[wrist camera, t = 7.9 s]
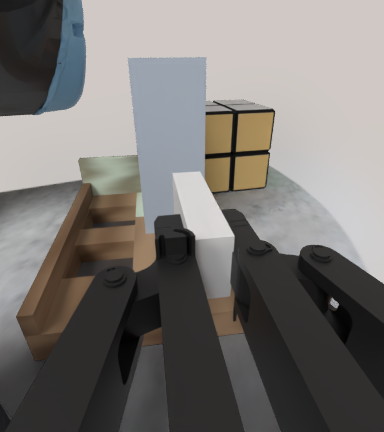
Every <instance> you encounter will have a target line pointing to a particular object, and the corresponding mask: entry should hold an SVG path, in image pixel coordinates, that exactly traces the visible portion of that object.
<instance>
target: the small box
mask: <svg viewBox="0 0 384 432" xmlns="http://www.w3.org/2000/svg"><path fill="white" fill-rule="evenodd" d="M10 422H11V418H10V416H9V415H8V413H7V411H6V410H5V409H4V407H3V405H2V403H1V402H0V432H5V430H6V429H7V427H8V425H9V424H10Z"/></svg>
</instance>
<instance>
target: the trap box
mask: <svg viewBox="0 0 384 432" xmlns="http://www.w3.org/2000/svg"><path fill="white" fill-rule="evenodd" d="M78 162H79V166H80V171H81V176H82V181H83V184H82V186H81V188H80V190H79V192H78V194H77V196H76V198H75V200H74V202H73V204H72V206H71V208H70V210H69V212H68V214H67V216H66V218H65V220H64V222H63V224H62V226H61V228H60V230H59V232H58V234H57V236H56V238H55V240H54V242H53V244H52V246H51V248H50V250H49V252H48V254H47V256H46V258H45V260H44V262H43V264H42V266H41V268H40V270H39V272H38V274H37V276H36V278H35V280H34V282H33V284H32V286H31V288H30V290H29V292H28V294H27V296H26V298H25V300H24V302H23V304H22V306H21V308H20V310H19V312H18V314H17V316H16V318H17V320H18V323H19V325H20V327H21V330H22V332H23V334H24V336H25V339H26V341H27V343H28V346H29V348H30V350H31V353H32V355H33V357H34V360H35V361H37V360H44V359H47V358H48V356H49V354H50V353H51V351H52V349H53V348H54V346H55V344H56V342H57V341H58V339H59V337H60V335H61V334H62V332H63V330H64V329H65V327H66V325H67V323H68V322H69V320H70V318H71V317H72V315H73V313H74V311H75V310H76V308H77V306H78V304H79V303H80V301H81V299H82V298H83V296H84V294H85V292H86V291H87V289H88V287H89V285H90V284H91V282H92V280H93V279H94V277H95V276H96V275H97V274H98V273H99V272H101V271H102V270H104V269H106V268H109V267H112V266H126V267H129V268H131V269H133V270H134V272H138V271H141V270H143V269H145V268H147V267H149V266H150V265H151V264H152V263H153V262H154V261H155V259H156V249H155V233H151V234H146V231H145V221H144V211H143V201H142V192H141V182H140V172H139V162H138V155H132V156H112V157H93V158H80V159H79V160H78ZM205 181H206V180H205ZM206 183H207V182H206ZM207 185H208V184H207ZM208 187H209V186H208ZM209 189H210V188H209ZM210 191H211V190H210ZM211 193H212V192H211ZM212 195H213V194H212ZM213 196H214V195H213ZM214 198H215V197H214ZM215 200H216V199H215ZM216 202H217V201H216ZM217 204H218V203H217ZM218 206H219V205H218ZM219 208H220V207H219ZM220 210H221V209H220ZM208 303H209V306H210V310H211V314H212V317H213V321H214V324H215V328H216V331H217V335H218V336H223V335H231V334H238V333H244V331H243V328H242V326H241V323H240V320H239V318H238V315H237V317H236V321H234V322H233V307H234V291H233V289H232V286H231V293H230V296H229V297H221V298H213V299H208ZM156 344H163V338H162V327H160V328H158V329H155V330H153V331H151V332H149V333H146V334H144V339H143V343H142V346H149V345H156Z"/></svg>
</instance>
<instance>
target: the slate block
mask: <svg viewBox="0 0 384 432" xmlns="http://www.w3.org/2000/svg"><path fill="white" fill-rule="evenodd" d="M128 64H129V74H130V83H131V94H132V104H133V113H134V123H135V132H136V143H137V152H138V162H139V172H140V182H141V192H142V201H143V211H144V221H145V231H146V234H151V233H155V231H154V221H155V220H156V218H157V217H158V216H162V215H174V198H173V176H172V173H182V172H198V171H200V172H201V174H202V176H203V178H204V180H205V111H206V57H202V58H200V57H198V58H128Z"/></svg>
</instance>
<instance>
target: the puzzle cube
mask: <svg viewBox="0 0 384 432" xmlns="http://www.w3.org/2000/svg"><path fill="white" fill-rule="evenodd" d="M274 117H275V111H274V110H273V109H272V108H269V107H265V106H262V105H259V104H255V103H252V102H249V101H246V100H220V101H219V100H218V101H213V102H211V101H206V111H205V180H206V182H207V184H208V186H209V188H210V190H211V192H212V193H220V192H228V191H229V190H231V191H240V190H249V189H259V188H264V187H265V186H266V182H267V174H268V166H269V157H270V153H269V152H268V151H269V149H270V148H271V140H272V132H273V124H274Z"/></svg>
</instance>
